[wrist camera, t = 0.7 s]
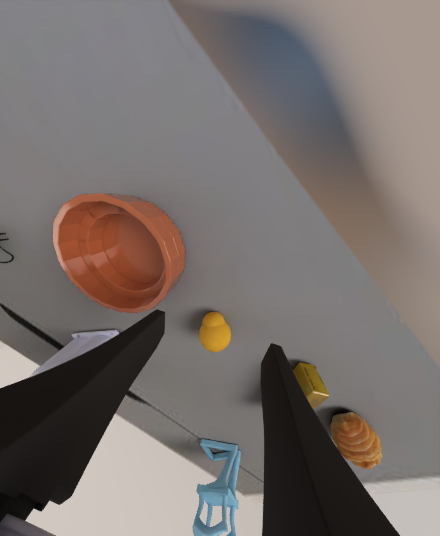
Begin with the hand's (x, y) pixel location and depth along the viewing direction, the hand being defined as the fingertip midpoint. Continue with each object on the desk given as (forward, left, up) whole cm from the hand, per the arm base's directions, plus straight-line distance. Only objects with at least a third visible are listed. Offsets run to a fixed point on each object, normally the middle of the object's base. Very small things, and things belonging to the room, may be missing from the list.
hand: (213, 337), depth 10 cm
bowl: (-10, +5, -10) cm, 15 cm away
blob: (-3, -7, -10) cm, 13 cm away
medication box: (+6, -21, -10) cm, 24 cm away
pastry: (+15, -32, -9) cm, 36 cm away
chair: (-10, -44, -10) cm, 46 cm away
